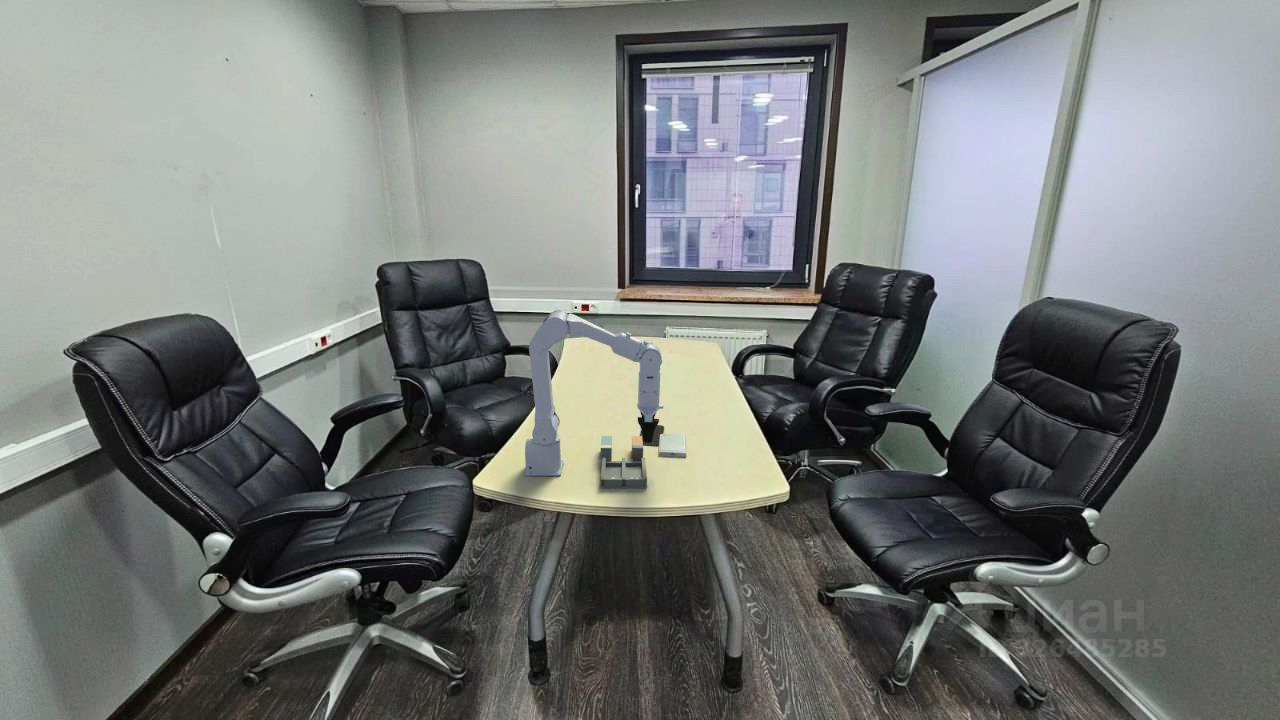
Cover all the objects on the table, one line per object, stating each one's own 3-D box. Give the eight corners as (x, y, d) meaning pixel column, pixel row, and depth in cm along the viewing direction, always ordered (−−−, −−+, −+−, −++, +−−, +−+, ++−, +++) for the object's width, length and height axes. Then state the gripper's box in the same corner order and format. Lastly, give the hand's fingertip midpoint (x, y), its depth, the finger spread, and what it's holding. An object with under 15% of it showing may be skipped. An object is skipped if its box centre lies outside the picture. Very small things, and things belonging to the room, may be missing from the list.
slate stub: (600, 462, 149) (600, 447, 148) (601, 449, 157) (601, 435, 155) (611, 462, 149) (611, 447, 148) (611, 449, 157) (611, 435, 155)
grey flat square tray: (600, 488, 136) (600, 479, 135) (602, 465, 147) (602, 457, 146) (646, 488, 136) (647, 479, 135) (644, 465, 148) (645, 457, 147)
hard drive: (659, 433, 165) (658, 451, 153) (685, 434, 165) (686, 452, 153) (659, 438, 166) (658, 456, 154) (685, 439, 165) (686, 457, 153)
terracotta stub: (632, 462, 149) (632, 447, 148) (631, 449, 157) (631, 435, 156) (642, 462, 150) (643, 447, 148) (641, 449, 157) (642, 435, 156)
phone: (637, 444, 160) (642, 424, 174) (637, 446, 160) (642, 426, 174) (661, 445, 159) (664, 425, 174) (661, 448, 160) (664, 427, 174)
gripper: (664, 399, 132) (663, 448, 136) (663, 380, 146) (661, 425, 150) (636, 398, 132) (635, 447, 136) (638, 380, 146) (637, 424, 150)
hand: (647, 435), depth 143 cm, fingers open, 7 cm apart
